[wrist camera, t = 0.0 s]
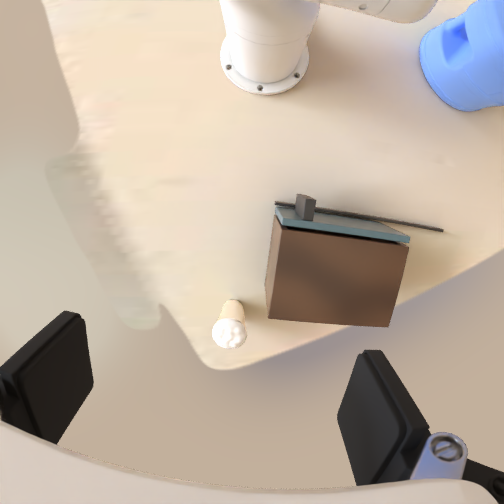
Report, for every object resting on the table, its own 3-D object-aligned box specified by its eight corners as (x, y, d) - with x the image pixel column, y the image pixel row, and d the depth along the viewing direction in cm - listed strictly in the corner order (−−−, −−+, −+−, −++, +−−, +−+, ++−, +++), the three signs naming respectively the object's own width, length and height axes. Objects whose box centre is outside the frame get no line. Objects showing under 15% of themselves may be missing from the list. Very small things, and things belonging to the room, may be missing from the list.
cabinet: (274, 201, 45) (282, 211, 34) (440, 228, 46) (482, 244, 34) (263, 284, 48) (266, 318, 37) (423, 299, 49) (457, 329, 37)
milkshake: (254, 297, 48) (254, 328, 39) (241, 325, 50) (238, 360, 40) (226, 286, 48) (220, 315, 38) (214, 315, 49) (205, 348, 40)
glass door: (278, 189, 44) (285, 195, 33) (380, 206, 44) (414, 217, 34) (275, 212, 45) (281, 225, 34) (377, 227, 45) (409, 243, 35)
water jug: (496, 83, 38) (606, 61, 11) (460, 129, 41) (591, 121, 14) (443, 17, 36) (539, -43, 9) (400, 56, 39) (512, -14, 12)
